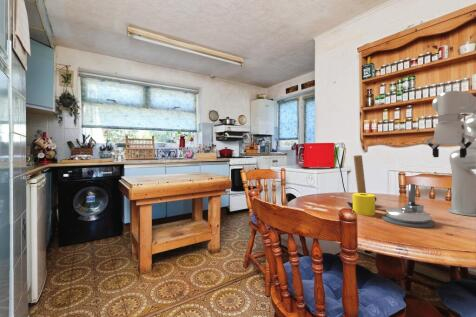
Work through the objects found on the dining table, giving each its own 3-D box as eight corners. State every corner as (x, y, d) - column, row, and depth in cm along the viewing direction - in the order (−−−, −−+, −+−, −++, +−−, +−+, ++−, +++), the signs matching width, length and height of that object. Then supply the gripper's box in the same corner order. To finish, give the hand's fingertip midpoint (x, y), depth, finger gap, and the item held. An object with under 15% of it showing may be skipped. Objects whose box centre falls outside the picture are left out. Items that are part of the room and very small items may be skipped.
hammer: (356, 214, 124) (350, 159, 121) (348, 212, 129) (341, 159, 125) (377, 202, 134) (371, 152, 131) (368, 201, 138) (363, 152, 135)
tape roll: (376, 212, 119) (376, 194, 118) (372, 216, 111) (372, 197, 111) (355, 209, 125) (355, 192, 125) (350, 213, 118) (350, 195, 118)
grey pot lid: (416, 226, 93) (416, 212, 93) (378, 216, 108) (378, 204, 107) (438, 220, 100) (438, 207, 100) (399, 212, 114) (399, 201, 114)
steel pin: (409, 209, 108) (409, 183, 108) (415, 210, 106) (416, 184, 106) (407, 210, 106) (407, 184, 106) (414, 211, 104) (414, 184, 104)
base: (398, 213, 116) (398, 211, 116) (444, 223, 99) (444, 221, 99) (372, 218, 109) (372, 215, 108) (418, 230, 91) (418, 227, 91)
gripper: (479, 117, 98) (478, 157, 98) (431, 122, 113) (430, 157, 114) (470, 116, 94) (470, 157, 95) (422, 121, 110) (422, 157, 111)
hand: (448, 157), depth 104 cm, fingers open, 9 cm apart
